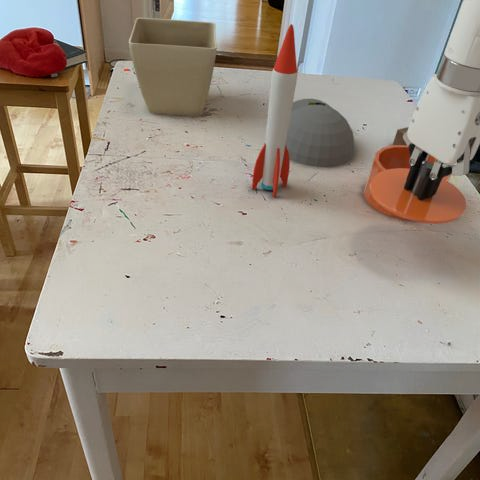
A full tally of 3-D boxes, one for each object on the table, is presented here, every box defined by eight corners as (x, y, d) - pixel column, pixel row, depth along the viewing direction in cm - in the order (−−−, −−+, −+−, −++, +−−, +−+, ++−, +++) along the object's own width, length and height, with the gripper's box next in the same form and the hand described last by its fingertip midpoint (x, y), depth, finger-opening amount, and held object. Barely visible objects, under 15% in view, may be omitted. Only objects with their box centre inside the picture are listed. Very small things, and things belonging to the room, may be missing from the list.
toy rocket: (286, 189, 97) (315, 24, 76) (274, 201, 94) (301, 32, 72) (262, 180, 99) (284, 16, 77) (250, 192, 96) (269, 23, 74)
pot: (400, 176, 104) (413, 140, 98) (449, 212, 96) (467, 174, 90) (349, 191, 99) (359, 153, 92) (396, 229, 91) (411, 191, 84)
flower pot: (141, 88, 126) (136, 15, 113) (212, 92, 127) (215, 21, 115) (134, 120, 113) (127, 42, 100) (214, 124, 115) (216, 48, 102)
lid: (416, 166, 85) (428, 134, 81) (483, 213, 77) (502, 179, 72) (349, 184, 79) (359, 150, 75) (414, 237, 71) (430, 202, 66)
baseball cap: (345, 112, 121) (359, 69, 110) (352, 189, 108) (368, 148, 98) (272, 106, 120) (279, 61, 109) (270, 182, 108) (277, 140, 97)
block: (405, 144, 115) (411, 126, 112) (418, 153, 113) (425, 134, 109) (391, 148, 113) (397, 129, 110) (404, 156, 111) (411, 138, 107)
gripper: (534, 93, 61) (471, 213, 74) (442, 50, 70) (401, 164, 83) (496, 101, 58) (438, 225, 71) (405, 55, 67) (368, 173, 80)
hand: (418, 191), depth 77 cm, fingers closed on lid, 2 cm apart
